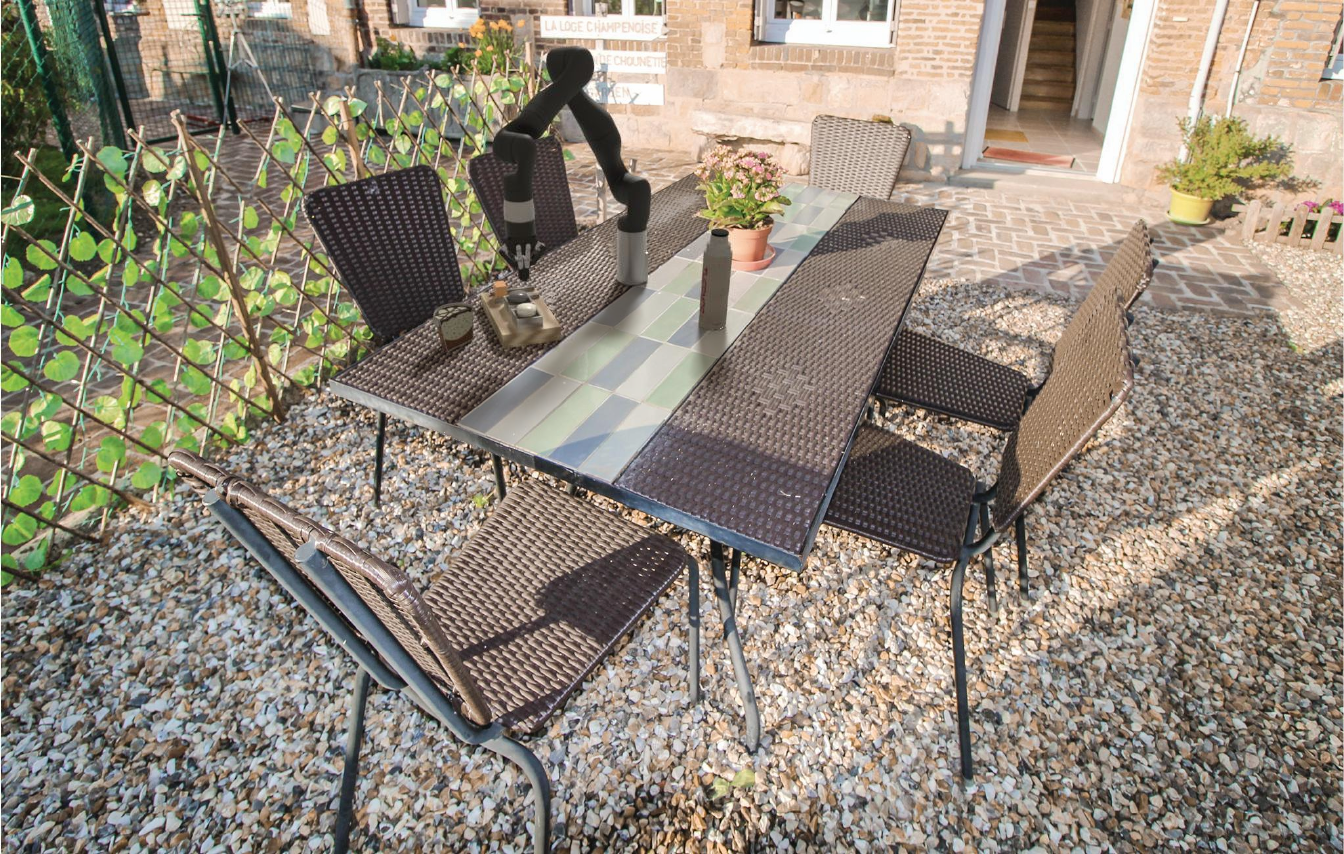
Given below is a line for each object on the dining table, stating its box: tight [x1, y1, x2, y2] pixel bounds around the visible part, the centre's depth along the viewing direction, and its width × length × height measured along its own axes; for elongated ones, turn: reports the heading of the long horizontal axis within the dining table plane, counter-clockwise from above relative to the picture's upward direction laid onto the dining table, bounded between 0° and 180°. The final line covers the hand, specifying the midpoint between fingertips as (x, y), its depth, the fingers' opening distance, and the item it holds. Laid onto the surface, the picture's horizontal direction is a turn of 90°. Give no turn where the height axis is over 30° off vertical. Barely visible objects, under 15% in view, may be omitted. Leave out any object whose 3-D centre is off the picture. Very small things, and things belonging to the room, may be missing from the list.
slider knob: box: [492, 280, 508, 299], centre depth 214 cm, size 3×4×4 cm
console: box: [480, 285, 562, 349], centre depth 210 cm, size 16×28×7 cm, turn 24°
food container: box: [432, 302, 476, 353], centre depth 197 cm, size 12×6×10 cm, turn 145°
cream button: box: [517, 303, 536, 317], centre depth 201 cm, size 5×5×2 cm
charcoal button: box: [509, 290, 528, 304], centre depth 207 cm, size 5×5×2 cm
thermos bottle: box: [698, 227, 733, 330], centre depth 208 cm, size 8×8×28 cm
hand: (523, 280), depth 196 cm, fingers closed
